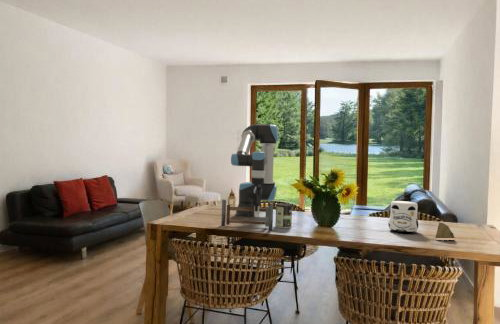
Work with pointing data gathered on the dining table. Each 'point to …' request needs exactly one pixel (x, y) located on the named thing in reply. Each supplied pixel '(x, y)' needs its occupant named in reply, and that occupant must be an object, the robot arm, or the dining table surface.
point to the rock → (444, 231)
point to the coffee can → (283, 215)
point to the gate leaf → (247, 210)
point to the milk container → (403, 216)
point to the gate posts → (269, 214)
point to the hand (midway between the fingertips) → (256, 216)
